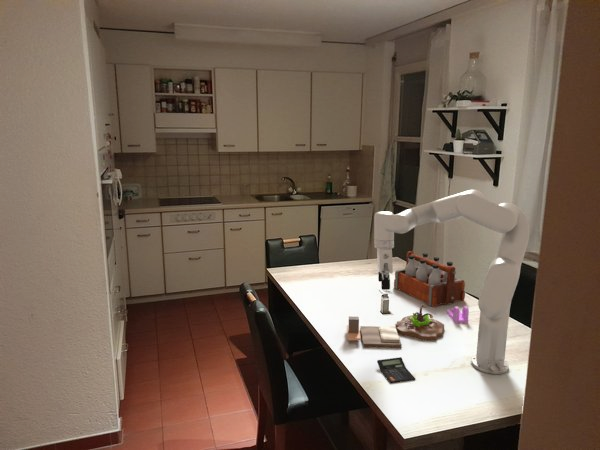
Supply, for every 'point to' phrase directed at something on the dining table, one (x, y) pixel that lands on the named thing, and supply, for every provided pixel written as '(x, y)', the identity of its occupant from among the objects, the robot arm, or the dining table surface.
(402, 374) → the calculator
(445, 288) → the milk bottle holder
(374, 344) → the board
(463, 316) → the bracket
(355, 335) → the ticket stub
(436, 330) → the plant
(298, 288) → the dining table surface
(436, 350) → the dining table surface
